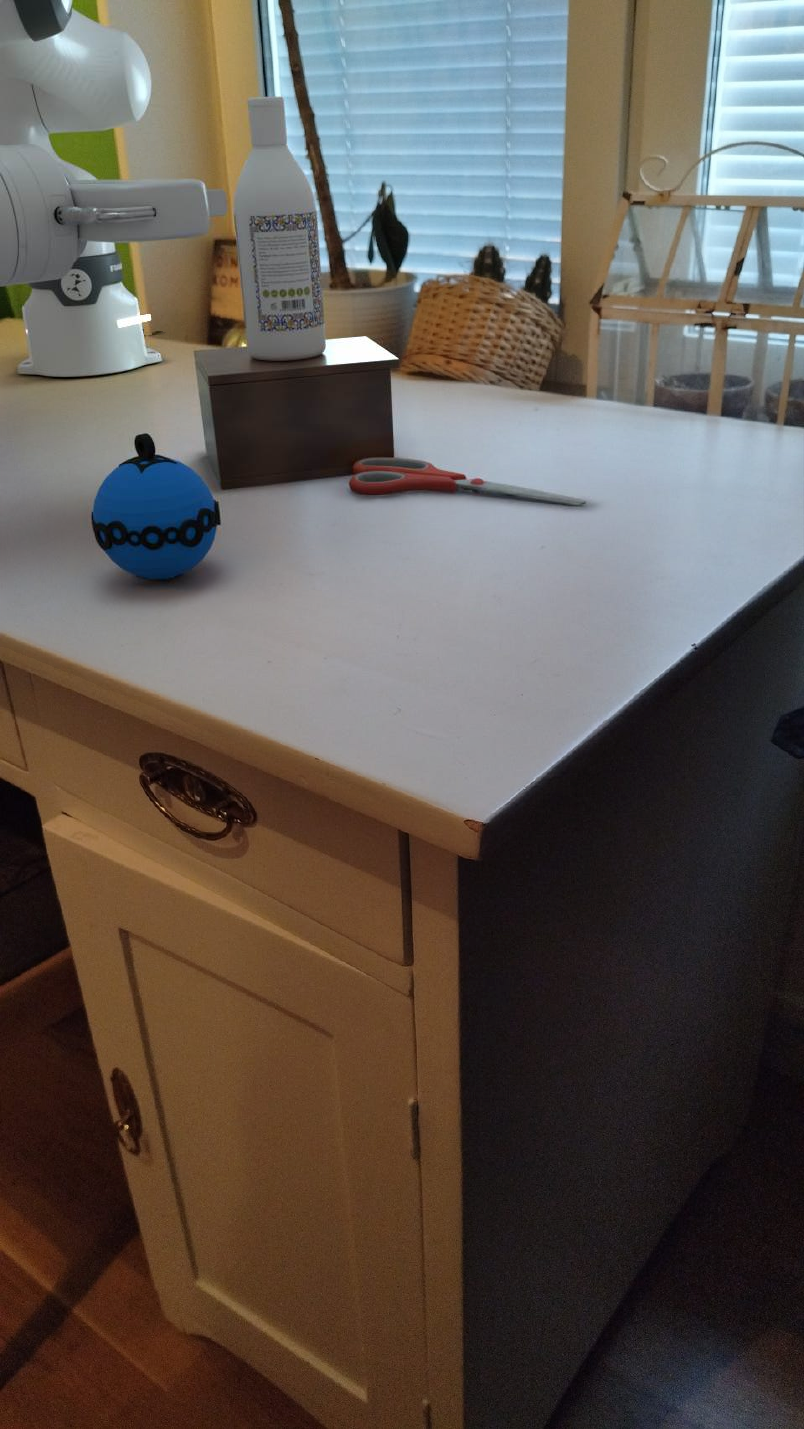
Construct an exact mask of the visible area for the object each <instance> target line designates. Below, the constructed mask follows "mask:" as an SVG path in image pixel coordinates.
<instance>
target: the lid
mask: <svg viewBox="0 0 804 1429" xmlns="http://www.w3.org/2000/svg"><path fill="white" fill-rule="evenodd" d="M325 341H326V348H325V351H324V352H323V353H322V354H320V355H318V356H315V357H312V358H307V359H301V360H292V361H265V360H258V359H255V358H253V357H251V356H250V355H249V353H248V348H247V345H245V346H234V347H233V346H232V347H224V348H222V347H221V348H212V349H211V348H210V349H199V350H197V349H196V350H193V358H194V362H195V361H196V363H197V364H198V366H199V368H200V370H201V372H202V374H203V375H204V377H205V379H206V381H207V383H208V385H220V384H231V383H242V382H253V381H264V380H275V379H286V378H297V377H308V376H319V375H331V374H342V373H353V372H364V371H375V370H386V369H390V370H394V369H397V370H398V369H400V359H399V358H398V357H396V355H394V354H392V353H391V352H389V350H386V349H385V348H384V347H382V346H381V345H379V344H377V343H376V342H375V341H373V340H372V339H370V338H369V337H368V336H355V337H354V336H353V337H342V338H331V339H325Z"/></svg>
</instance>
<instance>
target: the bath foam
mask: <svg viewBox="0 0 804 1429" xmlns="http://www.w3.org/2000/svg"><path fill="white" fill-rule="evenodd" d="M247 112H248V121H249V134H250V142H251V146H252V147H251V150H250V152H249V154H248V156H247V159H246V161H245V163H244V165H243V167H242V169H241V171H240V174H239V177H238V179H237V184H236V185H235V190H234V191H235V192H234V196H233V221H234V223H233V224H234V232H235V240H236V241H235V242H236V251H237V252H236V253H237V262H238V272H239V281H240V292H241V300H242V310H243V320H244V329H245V338H246V346H247V348H248V353H249V355H250V356H251V357H253V358H255V359H258V360H265V361H292V360H301V359H307V358H312V357H315V356H318V355H320V354H322V353H323V352H324V351H325V348H326V341H325V340H326V327H325V310H324V309H325V308H324V296H323V294H324V293H323V280H322V267H321V266H322V265H321V253H320V238H319V224H318V222H319V221H318V210H317V205H316V199H315V195H314V192H313V188H312V186H311V183H310V181H309V179H308V177H307V174H306V173H305V172H304V170H303V169H302V166H301V165H300V163H299V162H298V161H297V159H296V158H295V156H294V155H293V153H292V151H291V150H290V149H289V147H288V145H287V144H288V136H287V123H286V122H287V120H286V108H285V99H284V97H283V96H259V97H257V96H255V97H249V98H248V99H247Z"/></svg>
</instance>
